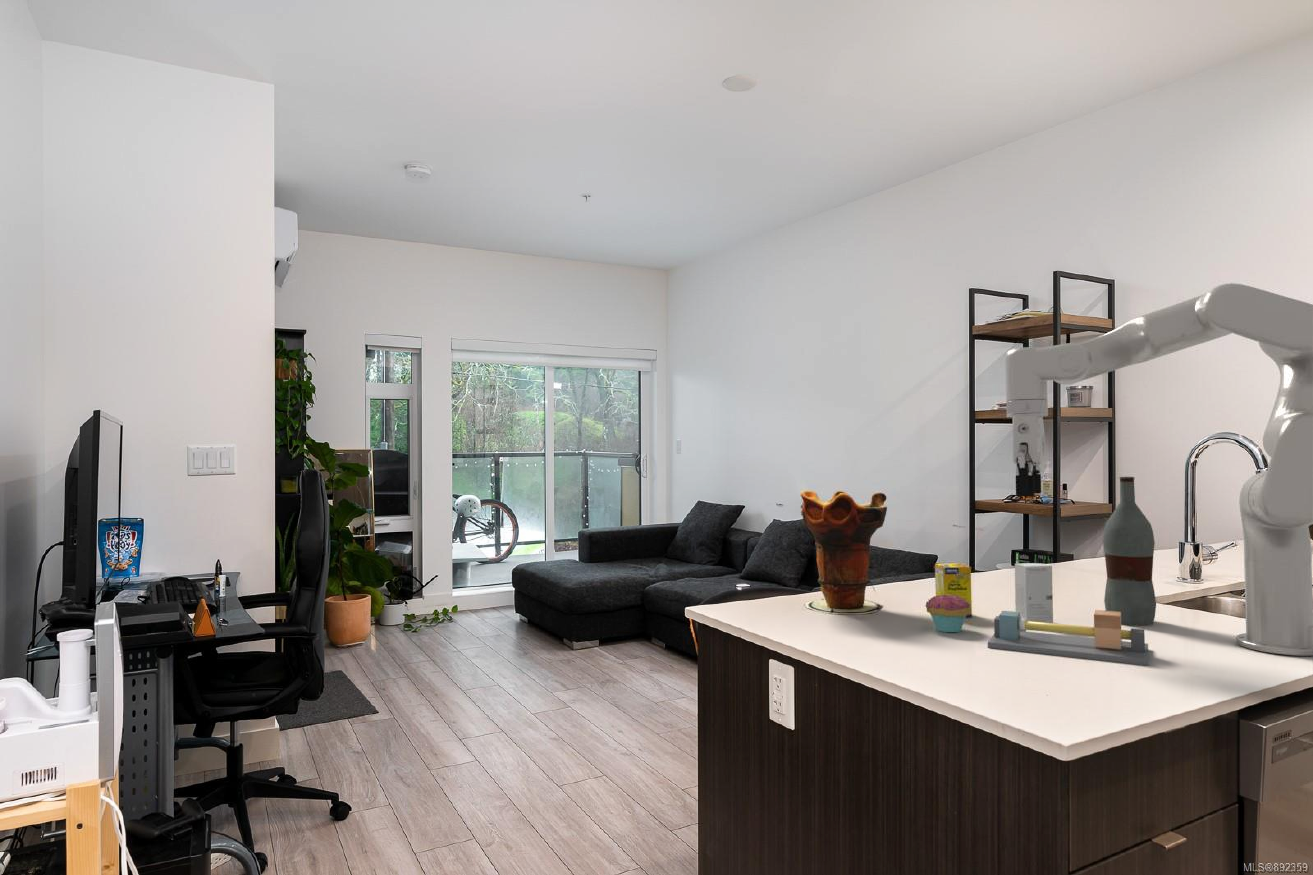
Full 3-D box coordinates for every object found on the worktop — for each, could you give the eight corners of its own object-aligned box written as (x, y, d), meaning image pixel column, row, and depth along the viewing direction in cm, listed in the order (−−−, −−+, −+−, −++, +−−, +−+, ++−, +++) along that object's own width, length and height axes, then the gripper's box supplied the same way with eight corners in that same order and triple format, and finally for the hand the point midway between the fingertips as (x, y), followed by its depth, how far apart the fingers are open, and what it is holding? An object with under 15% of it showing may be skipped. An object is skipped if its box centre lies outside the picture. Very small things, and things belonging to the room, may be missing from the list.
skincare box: (1027, 625, 161) (1025, 566, 161) (1014, 620, 165) (1013, 563, 165) (1054, 624, 161) (1053, 565, 162) (1041, 619, 166) (1040, 562, 166)
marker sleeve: (1121, 643, 140) (1120, 611, 140) (1121, 649, 136) (1120, 616, 136) (1095, 640, 142) (1095, 609, 142) (1094, 646, 138) (1093, 614, 138)
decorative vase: (903, 599, 188) (898, 482, 187) (875, 623, 168) (869, 493, 167) (820, 592, 199) (815, 482, 198) (784, 614, 179) (779, 492, 178)
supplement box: (972, 617, 169) (971, 566, 169) (944, 618, 169) (943, 567, 169) (962, 612, 175) (961, 562, 175) (935, 612, 175) (934, 563, 175)
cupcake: (923, 632, 156) (921, 572, 156) (929, 623, 164) (928, 566, 164) (969, 636, 152) (968, 574, 152) (974, 627, 160) (972, 568, 160)
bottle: (1142, 616, 167) (1139, 475, 167) (1166, 626, 158) (1162, 477, 158) (1096, 616, 168) (1093, 476, 168) (1117, 626, 159) (1113, 478, 159)
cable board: (1148, 649, 141) (1147, 619, 141) (1148, 665, 131) (1147, 633, 131) (998, 633, 154) (997, 606, 154) (987, 647, 144) (987, 618, 144)
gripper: (1041, 407, 148) (1043, 498, 148) (1053, 410, 163) (1055, 492, 162) (998, 408, 152) (1000, 497, 152) (1013, 411, 167) (1015, 492, 167)
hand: (1028, 494), depth 157 cm, fingers open, 9 cm apart
